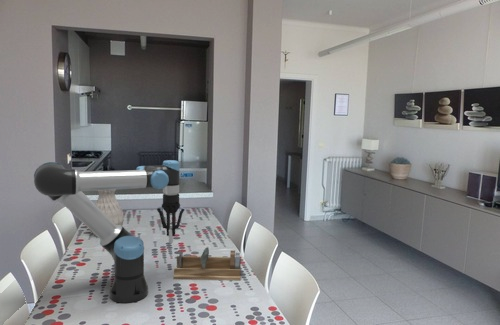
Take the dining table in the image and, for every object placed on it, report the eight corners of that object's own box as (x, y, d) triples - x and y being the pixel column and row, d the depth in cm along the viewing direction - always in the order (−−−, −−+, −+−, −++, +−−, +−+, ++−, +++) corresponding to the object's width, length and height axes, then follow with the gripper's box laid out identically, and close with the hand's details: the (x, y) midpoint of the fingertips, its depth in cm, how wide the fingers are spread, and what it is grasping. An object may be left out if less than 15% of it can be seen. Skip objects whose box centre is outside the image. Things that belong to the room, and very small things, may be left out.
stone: (203, 264, 184) (203, 244, 184) (211, 264, 184) (211, 244, 184) (198, 270, 173) (198, 248, 174) (207, 270, 173) (206, 248, 173)
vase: (85, 231, 239) (84, 185, 235) (116, 226, 252) (116, 182, 248) (96, 240, 224) (96, 190, 220) (129, 233, 237) (128, 187, 234)
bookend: (181, 273, 177) (181, 254, 176) (174, 273, 177) (174, 254, 176) (182, 268, 182) (182, 251, 181) (176, 268, 182) (176, 250, 181)
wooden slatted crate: (240, 280, 175) (240, 257, 173) (173, 279, 174) (173, 255, 173) (240, 270, 187) (241, 248, 185) (177, 268, 186) (177, 246, 184)
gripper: (186, 192, 179) (185, 240, 182) (158, 191, 179) (158, 239, 182) (183, 195, 172) (183, 245, 174) (155, 194, 171) (155, 244, 174)
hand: (170, 242), depth 178 cm, fingers closed
